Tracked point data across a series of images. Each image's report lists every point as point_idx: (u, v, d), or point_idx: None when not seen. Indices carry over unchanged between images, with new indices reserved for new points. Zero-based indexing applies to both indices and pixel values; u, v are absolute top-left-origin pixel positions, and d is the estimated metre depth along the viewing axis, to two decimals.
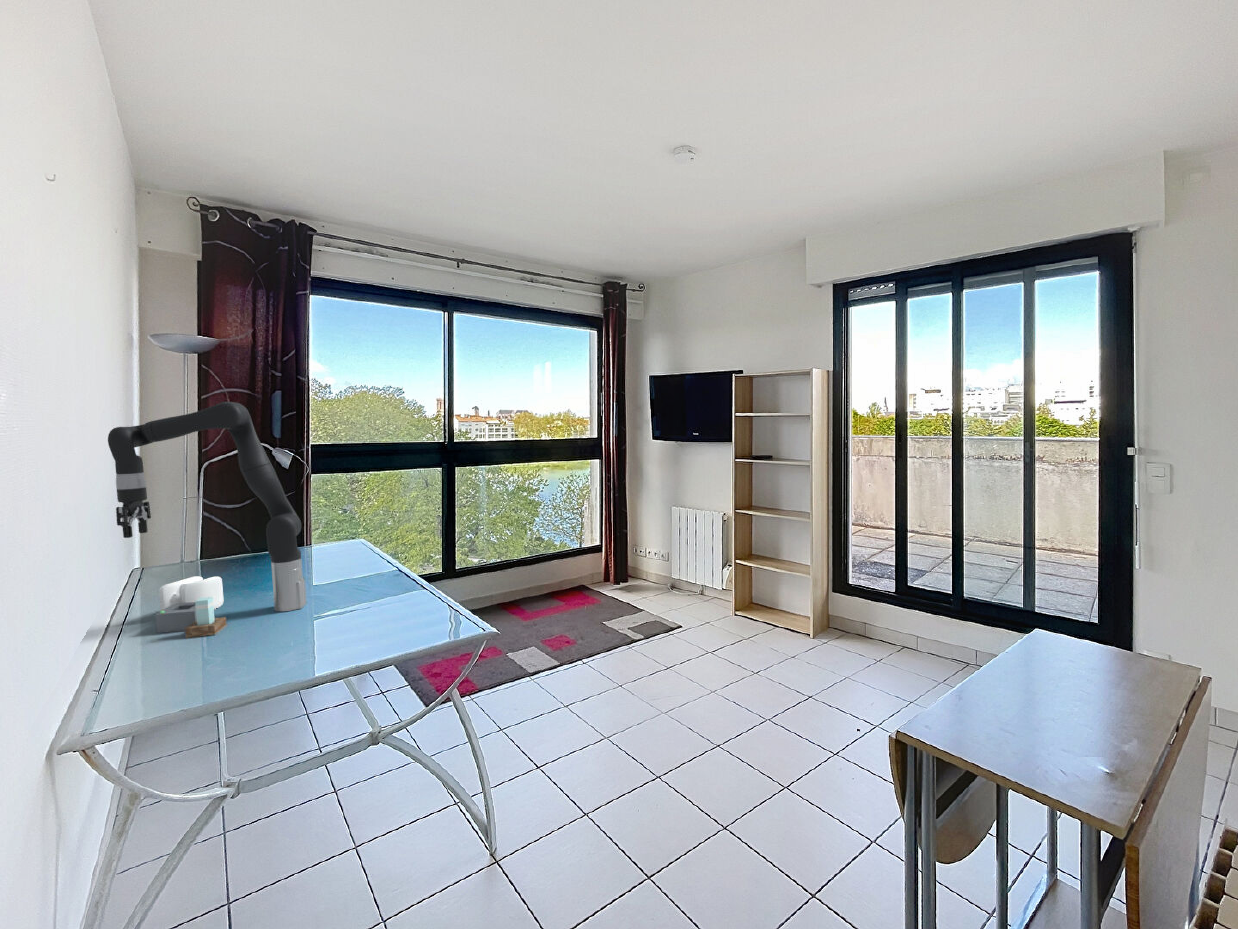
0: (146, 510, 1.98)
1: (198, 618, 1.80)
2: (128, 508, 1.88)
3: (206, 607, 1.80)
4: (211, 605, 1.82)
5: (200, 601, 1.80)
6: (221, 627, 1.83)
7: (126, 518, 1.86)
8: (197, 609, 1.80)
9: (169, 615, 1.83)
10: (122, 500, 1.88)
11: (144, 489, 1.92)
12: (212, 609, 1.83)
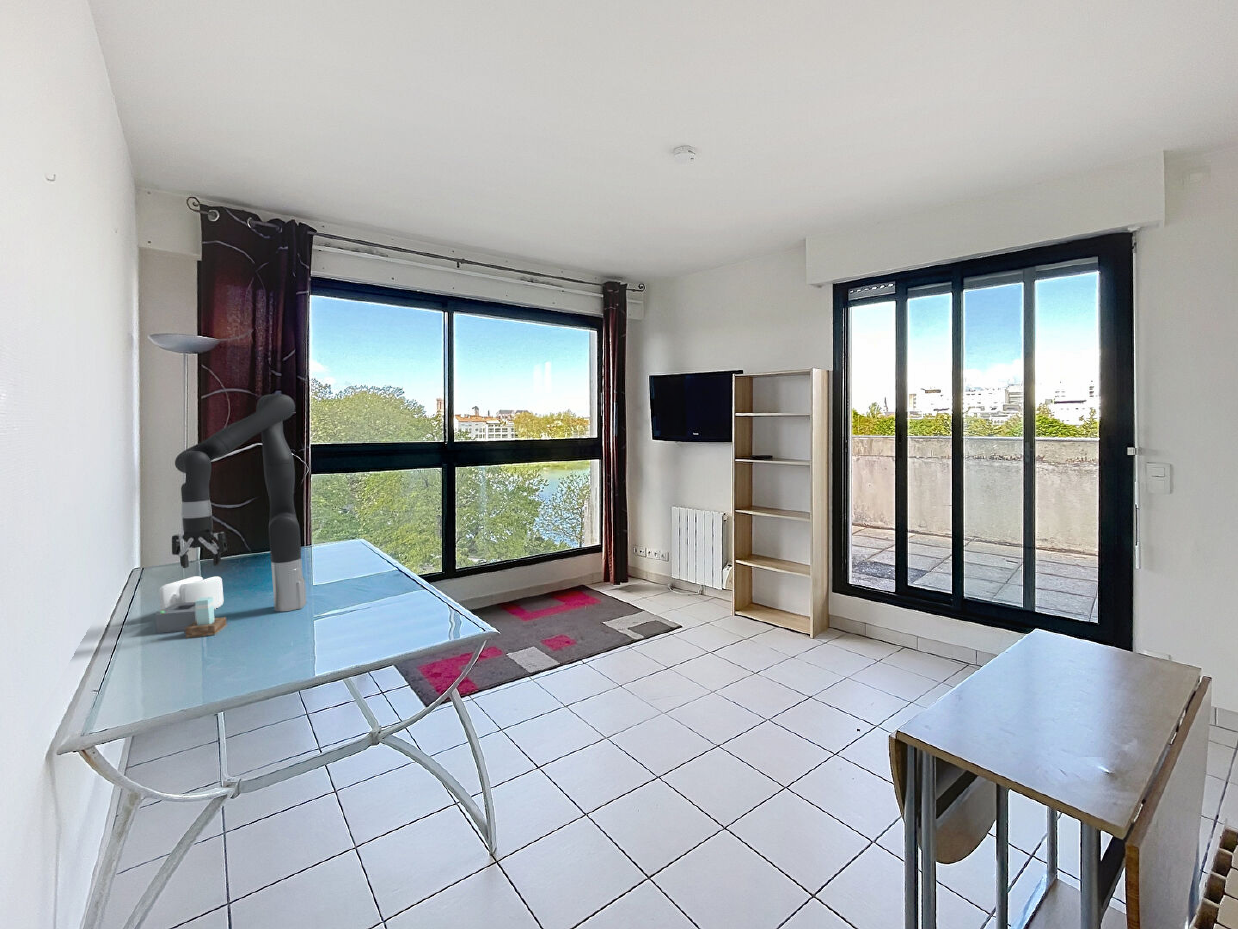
0: (179, 543, 1.80)
1: (198, 618, 1.80)
2: None
3: (206, 607, 1.80)
4: (211, 605, 1.82)
5: (200, 601, 1.80)
6: (221, 627, 1.83)
7: None
8: (197, 609, 1.80)
9: (169, 615, 1.83)
10: (209, 527, 1.79)
11: None
12: (212, 609, 1.83)
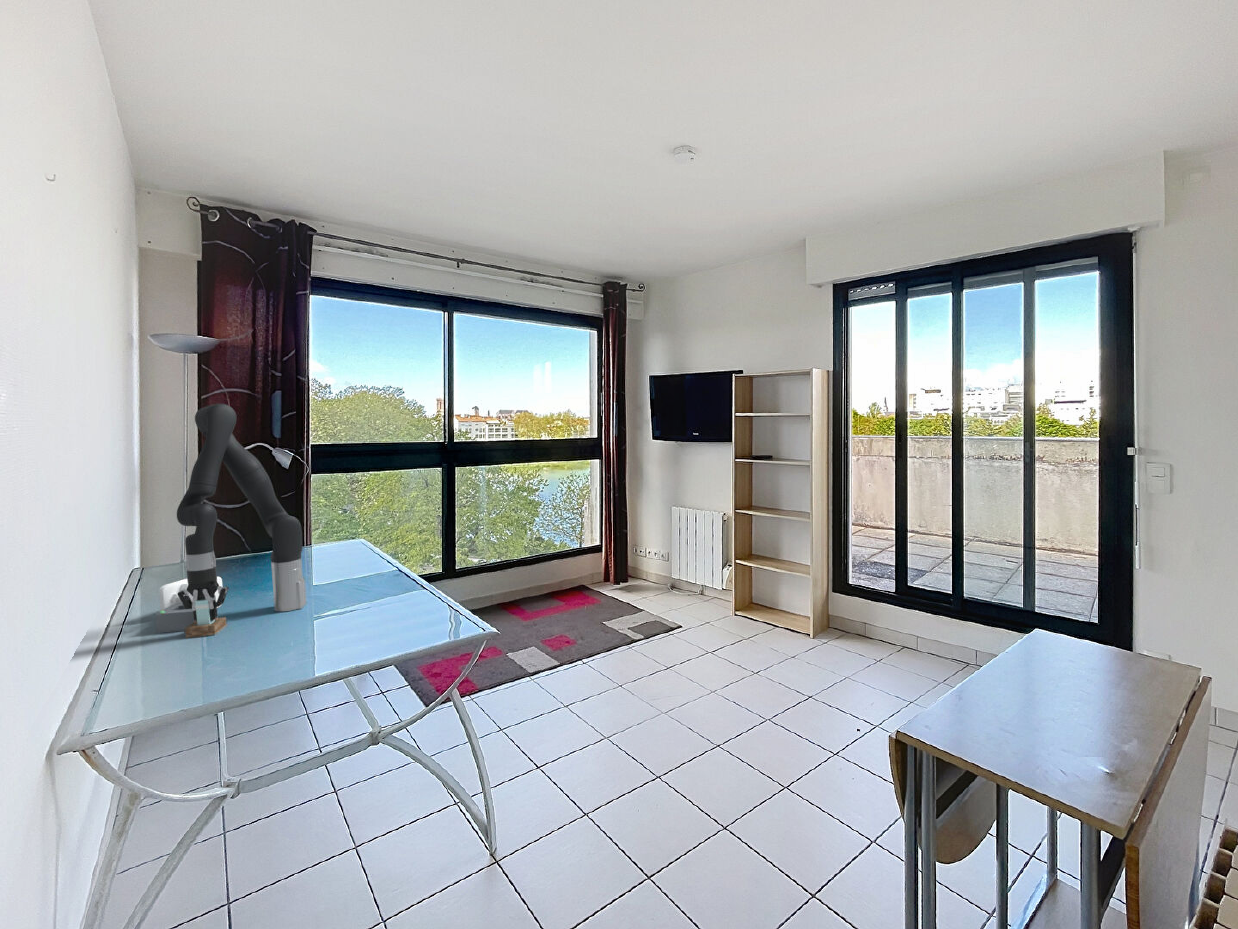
0: (188, 597, 1.81)
1: (198, 618, 1.80)
2: None
3: (206, 607, 1.80)
4: None
5: (200, 601, 1.80)
6: (221, 627, 1.83)
7: None
8: (197, 609, 1.80)
9: (169, 615, 1.83)
10: (213, 579, 1.81)
11: None
12: None
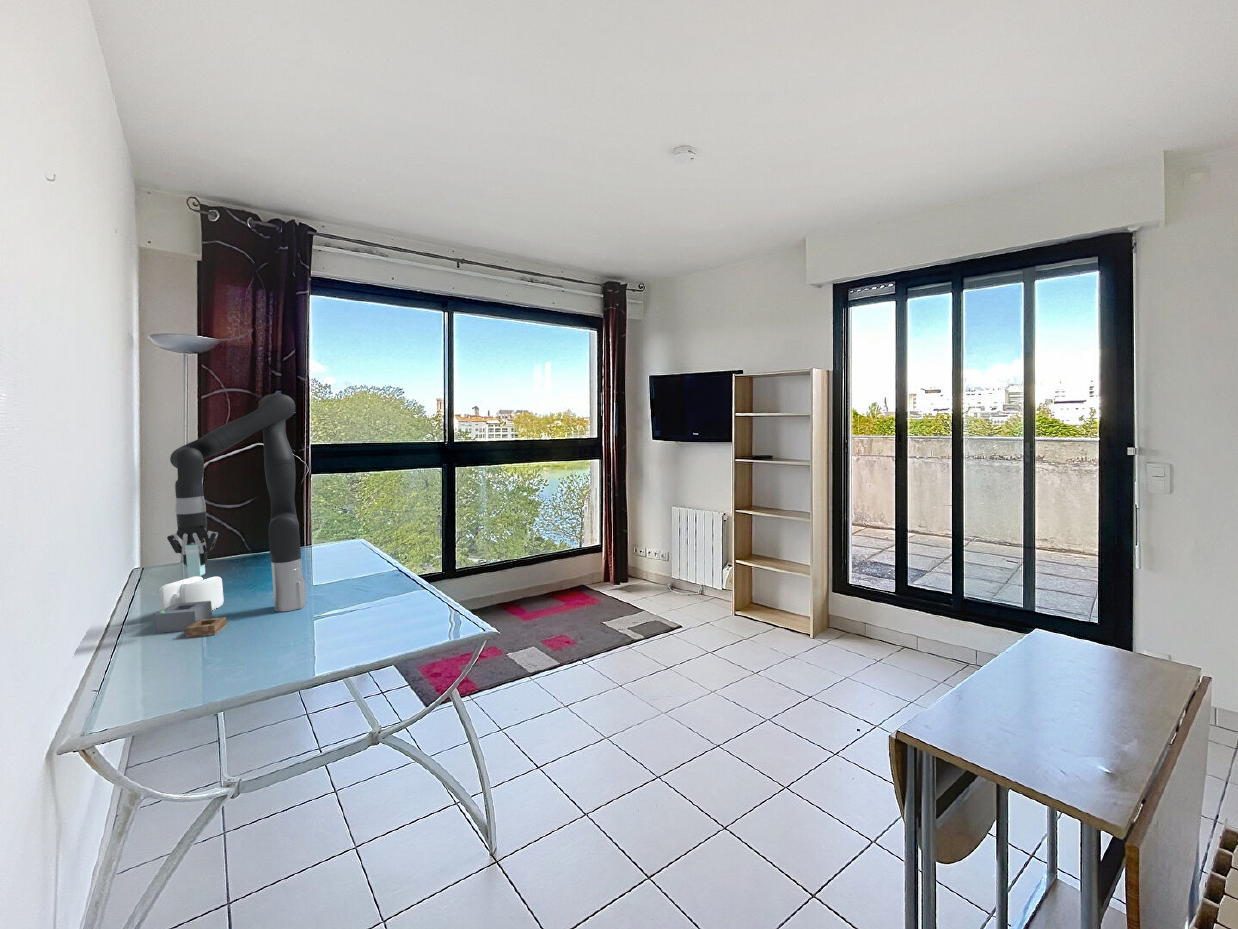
0: (178, 542, 1.81)
1: (188, 562, 1.80)
2: None
3: (196, 551, 1.80)
4: None
5: (190, 545, 1.80)
6: (221, 627, 1.83)
7: None
8: (187, 553, 1.80)
9: (169, 615, 1.83)
10: (203, 523, 1.81)
11: None
12: None
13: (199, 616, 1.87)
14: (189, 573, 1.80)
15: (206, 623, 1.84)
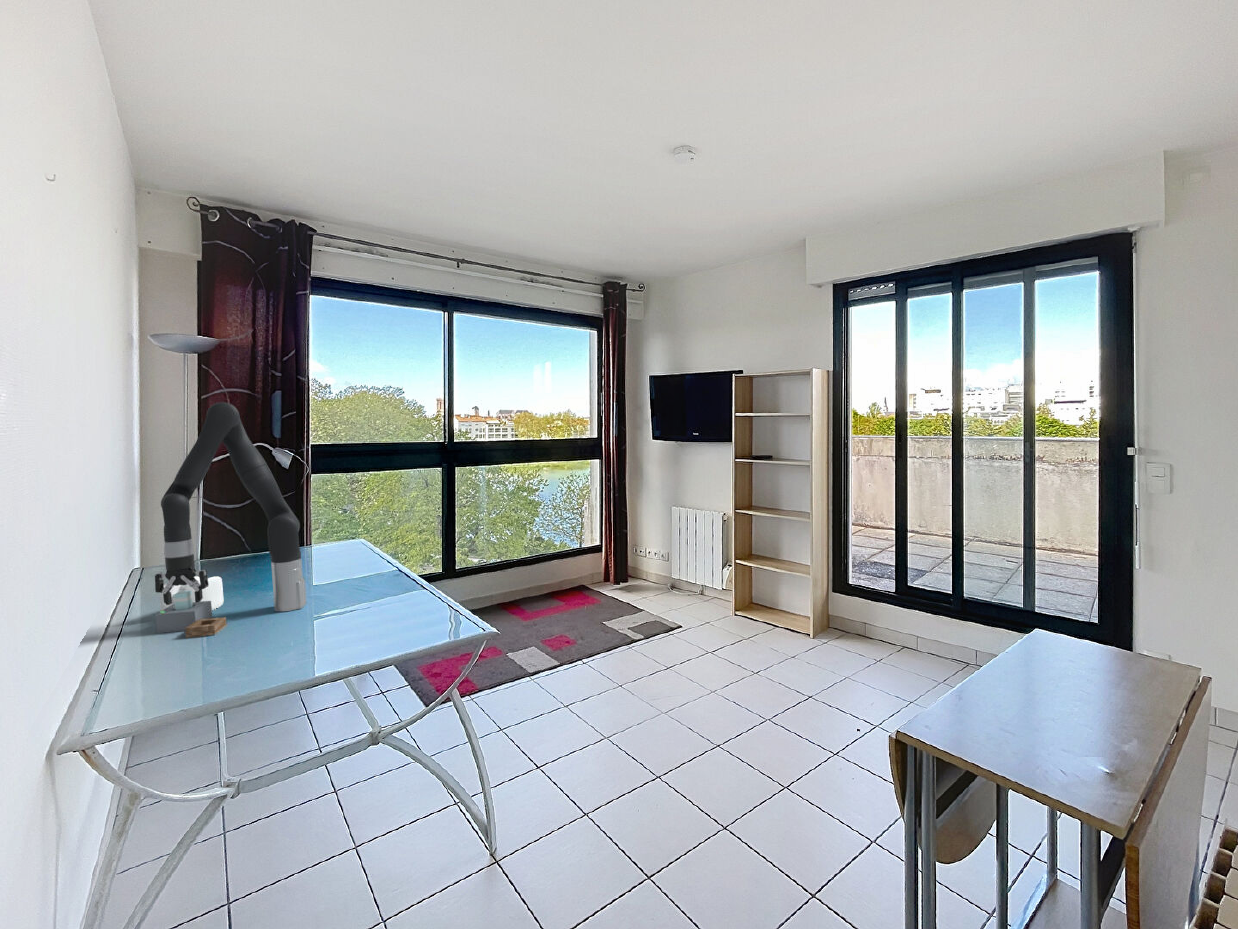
0: (162, 581, 1.87)
1: None
2: None
3: (185, 600, 1.87)
4: (190, 598, 1.89)
5: (179, 594, 1.86)
6: (221, 627, 1.83)
7: None
8: (176, 602, 1.86)
9: (169, 615, 1.83)
10: (191, 566, 1.87)
11: None
12: (191, 602, 1.90)
13: (199, 616, 1.87)
14: None
15: (206, 623, 1.84)
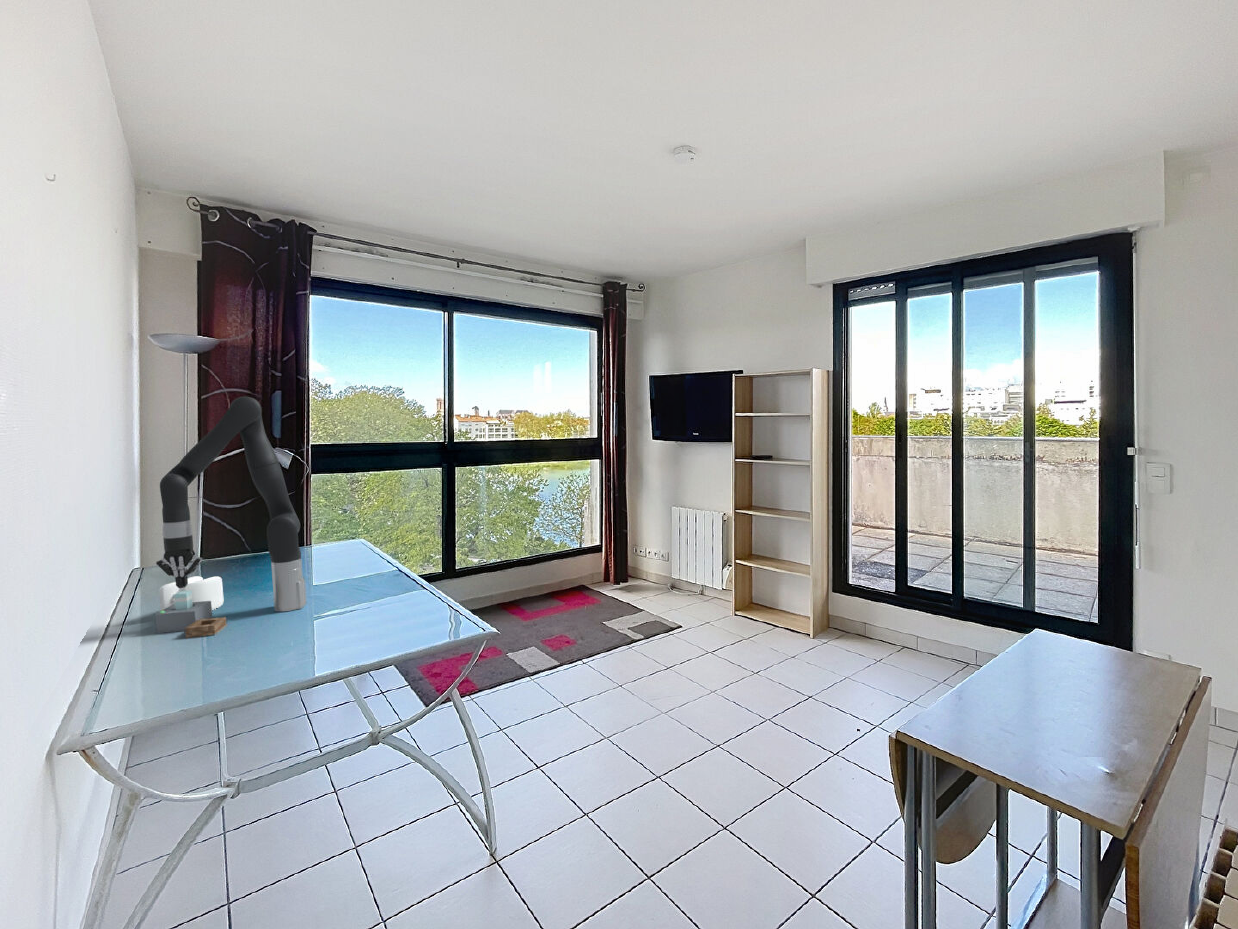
0: (168, 565, 1.87)
1: None
2: None
3: (185, 600, 1.87)
4: (190, 598, 1.89)
5: (179, 594, 1.86)
6: (221, 627, 1.83)
7: None
8: (176, 602, 1.86)
9: (169, 615, 1.83)
10: (190, 547, 1.87)
11: None
12: (191, 602, 1.90)
13: (199, 616, 1.87)
14: None
15: (206, 623, 1.84)
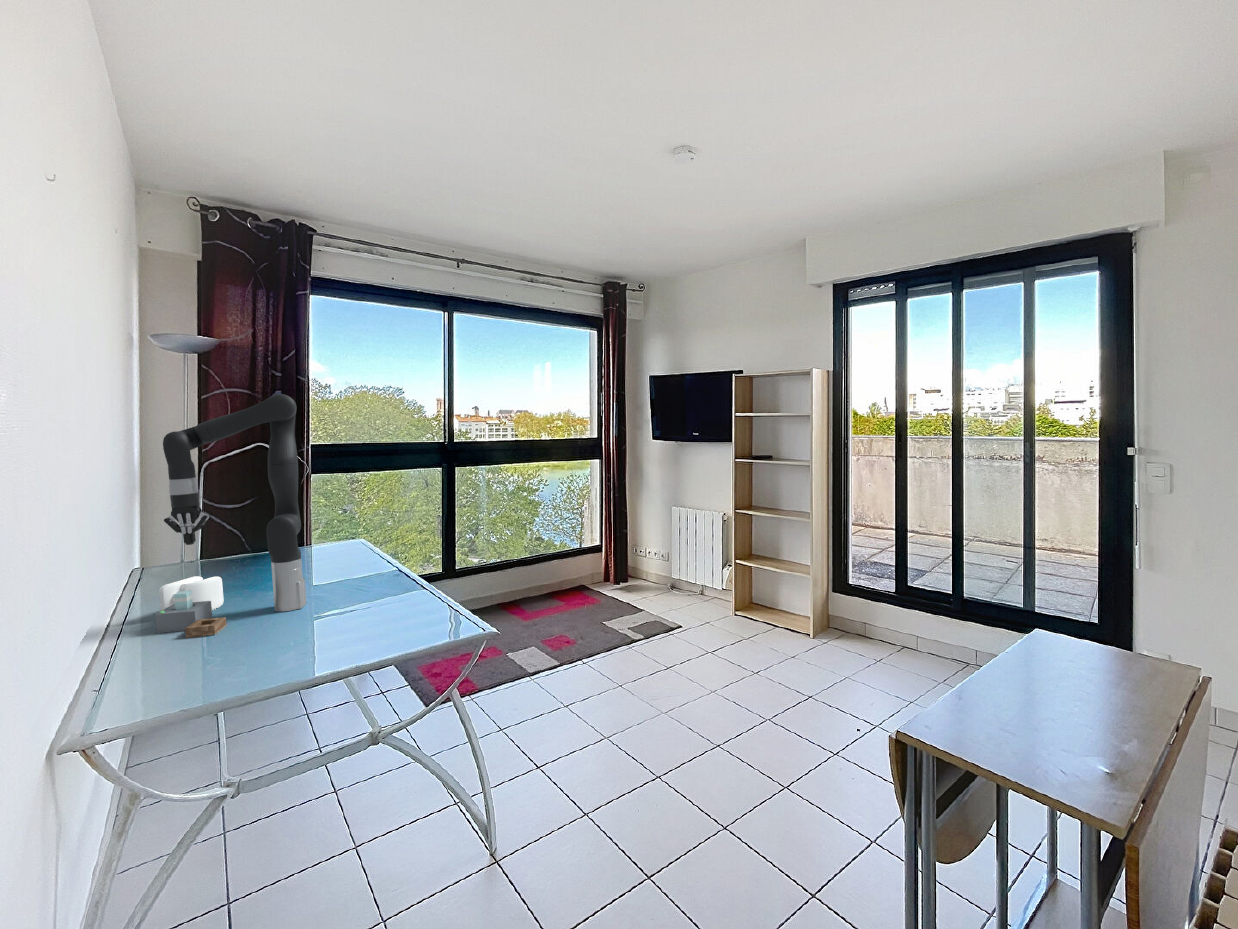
0: (176, 523, 1.89)
1: None
2: None
3: (185, 600, 1.87)
4: (190, 598, 1.89)
5: (179, 594, 1.86)
6: (221, 627, 1.83)
7: None
8: (176, 602, 1.86)
9: (169, 615, 1.83)
10: (196, 503, 1.89)
11: None
12: (191, 602, 1.90)
13: (199, 616, 1.87)
14: None
15: (206, 623, 1.84)
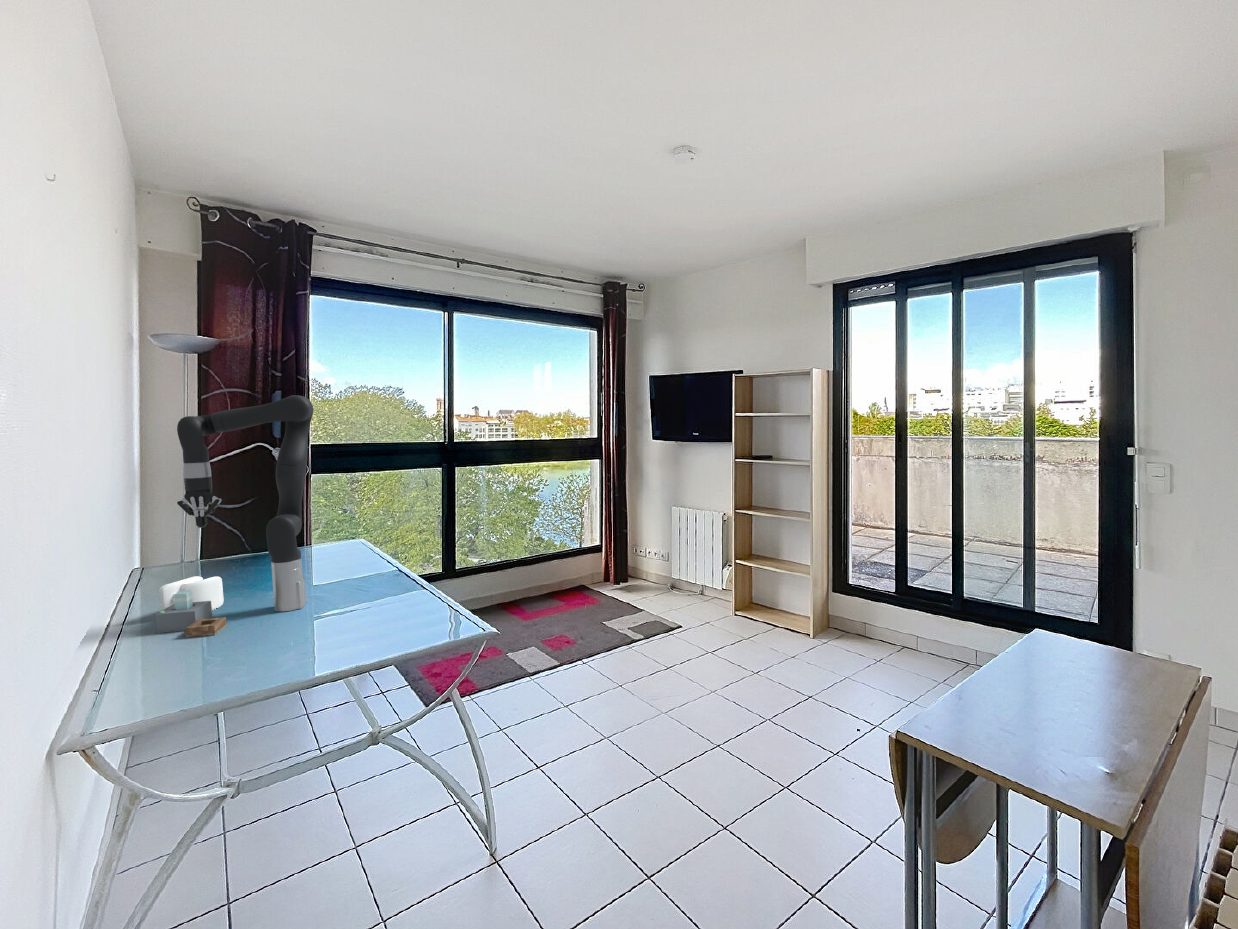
0: (189, 506, 1.93)
1: None
2: None
3: (185, 600, 1.87)
4: (190, 598, 1.89)
5: (179, 594, 1.86)
6: (221, 627, 1.83)
7: None
8: (176, 602, 1.86)
9: (169, 615, 1.83)
10: (209, 487, 1.93)
11: None
12: (191, 602, 1.90)
13: (199, 616, 1.87)
14: None
15: (206, 623, 1.84)
